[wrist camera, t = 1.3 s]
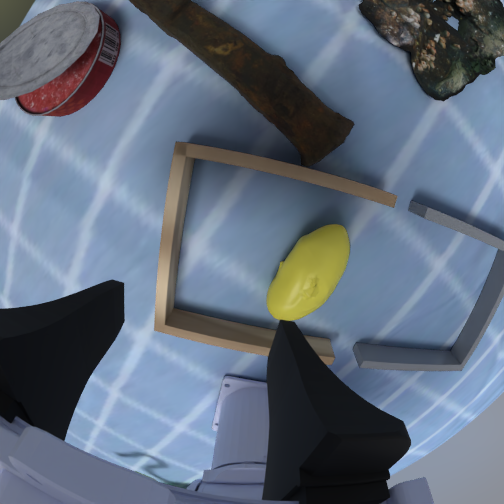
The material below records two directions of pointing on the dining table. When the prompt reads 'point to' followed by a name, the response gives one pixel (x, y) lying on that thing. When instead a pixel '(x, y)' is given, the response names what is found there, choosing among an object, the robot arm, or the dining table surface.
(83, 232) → the dining table surface
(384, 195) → the oak frame
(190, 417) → the dining table surface
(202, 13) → the hand tool
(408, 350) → the grey frame
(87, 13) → the canned food
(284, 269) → the lemon
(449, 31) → the decorative rock
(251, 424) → the robot arm
